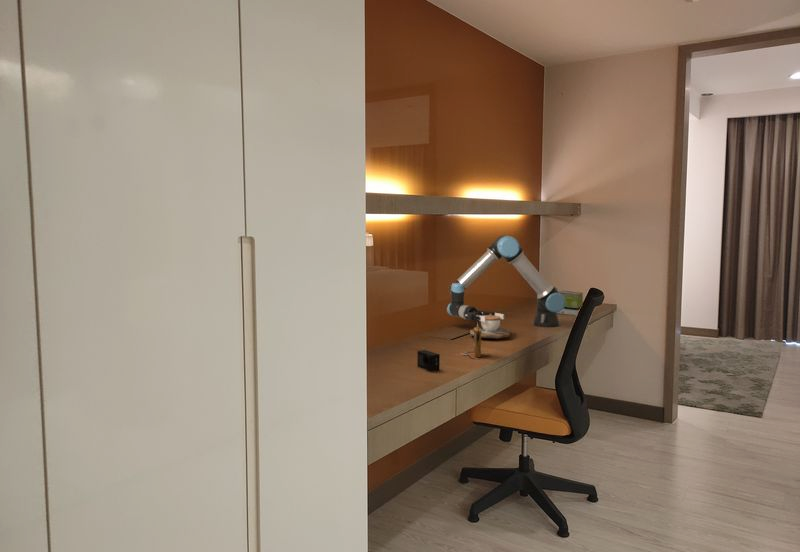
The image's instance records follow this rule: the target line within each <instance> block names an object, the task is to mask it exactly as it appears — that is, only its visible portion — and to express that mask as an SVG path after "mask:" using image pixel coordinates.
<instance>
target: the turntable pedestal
mask: <svg viewBox="0 0 800 552" xmlns="http://www.w3.org/2000/svg"><path fill="white" fill-rule="evenodd" d="M481 339H485V340H498V339H499V338H482V337H481Z"/></svg>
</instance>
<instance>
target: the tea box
mask: <svg viewBox="0 0 800 552" xmlns="http://www.w3.org/2000/svg"><path fill="white" fill-rule="evenodd" d="M558 292H559V293H561V294H562V295H563V296H564V297H565V300H566V304H565V307H564V308H563V309H562V310H561V311H560V312H557V314H564V315H571V316H576V315H577V313H578V311H579V309H580V307H581V305H582V306H583V302H584V301H583V299H584V293H583V292H579V291H569V290H561V291H558ZM577 316H578V315H577Z"/></svg>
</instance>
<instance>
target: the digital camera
mask: <svg viewBox="0 0 800 552" xmlns="http://www.w3.org/2000/svg"><path fill="white" fill-rule="evenodd" d="M440 357H441V355H440V354H439V353H437V352H433V351H430V350H426V349H423V350H417V357H416V358H417V364H416V365H417V367H419V368H422V369H425V370H428V371H431V372H433V371H439V370H440V362H441V361H440Z"/></svg>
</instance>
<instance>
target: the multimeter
mask: <svg viewBox="0 0 800 552" xmlns="http://www.w3.org/2000/svg"><path fill="white" fill-rule="evenodd" d="M477 316H478V314H477ZM479 316H480V315H479ZM479 316H478V319H477V318H476V321H475V322H476V323H475V325H474V328H473V329H474V336H473V350H472V353H473V356H474V358H479V359H482V355H481V353H482V352H481V351H482V338H481V329H480V328H481V327H479V323H480V321H479ZM468 353H469V351H466V352H463V353H461V355H462V356H467V357H470V355H469V354H468ZM474 358H473V357H470V359H472V360H474Z"/></svg>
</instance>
